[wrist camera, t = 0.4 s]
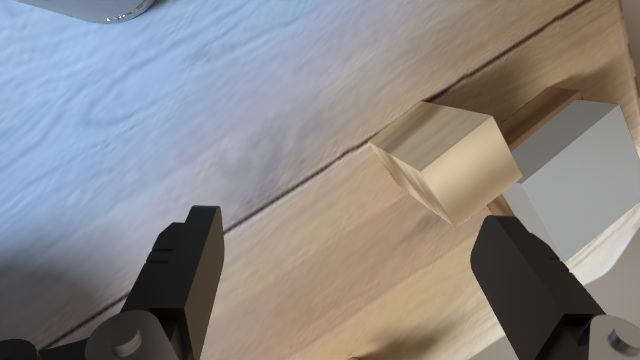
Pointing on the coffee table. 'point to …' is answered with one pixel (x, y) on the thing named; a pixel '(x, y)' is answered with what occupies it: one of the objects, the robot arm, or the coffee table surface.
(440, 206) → the oak block
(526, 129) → the tower base
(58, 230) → the coffee table surface
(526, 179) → the tower top
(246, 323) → the coffee table surface
